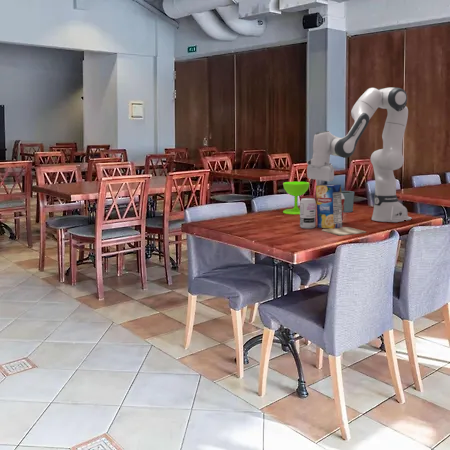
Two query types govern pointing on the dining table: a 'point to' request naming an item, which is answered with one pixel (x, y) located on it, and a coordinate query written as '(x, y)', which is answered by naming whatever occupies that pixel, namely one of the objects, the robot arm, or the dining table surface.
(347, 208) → the grey green plant pot
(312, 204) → the supplement can
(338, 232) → the board
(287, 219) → the dining table surface
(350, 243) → the dining table surface
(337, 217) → the cracker box
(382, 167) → the robot arm
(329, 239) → the dining table surface
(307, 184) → the wineglass
